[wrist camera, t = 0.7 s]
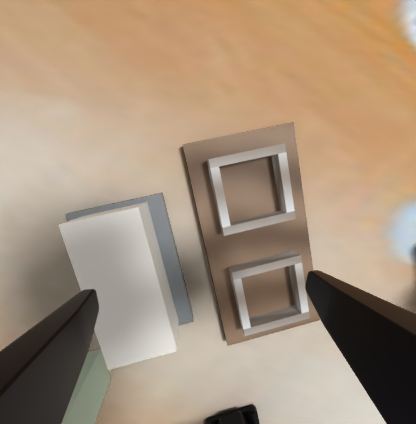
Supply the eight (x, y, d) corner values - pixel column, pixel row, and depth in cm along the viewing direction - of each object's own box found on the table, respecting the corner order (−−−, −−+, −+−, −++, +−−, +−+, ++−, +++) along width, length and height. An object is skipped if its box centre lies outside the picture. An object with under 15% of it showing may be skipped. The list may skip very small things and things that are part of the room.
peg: (111, 378, 24) (74, 477, 16) (74, 389, 23) (19, 495, 15) (100, 348, 23) (57, 436, 15) (63, 358, 23) (-2, 453, 15)
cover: (178, 321, 22) (177, 351, 18) (121, 336, 22) (108, 370, 18) (147, 201, 20) (138, 207, 16) (83, 215, 20) (58, 224, 16)
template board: (193, 315, 24) (194, 334, 21) (111, 337, 23) (101, 360, 20) (162, 192, 21) (158, 194, 18) (70, 212, 20) (51, 218, 18)
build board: (314, 314, 25) (328, 329, 23) (225, 339, 24) (230, 356, 22) (288, 124, 22) (301, 117, 19) (182, 146, 21) (182, 141, 18)
